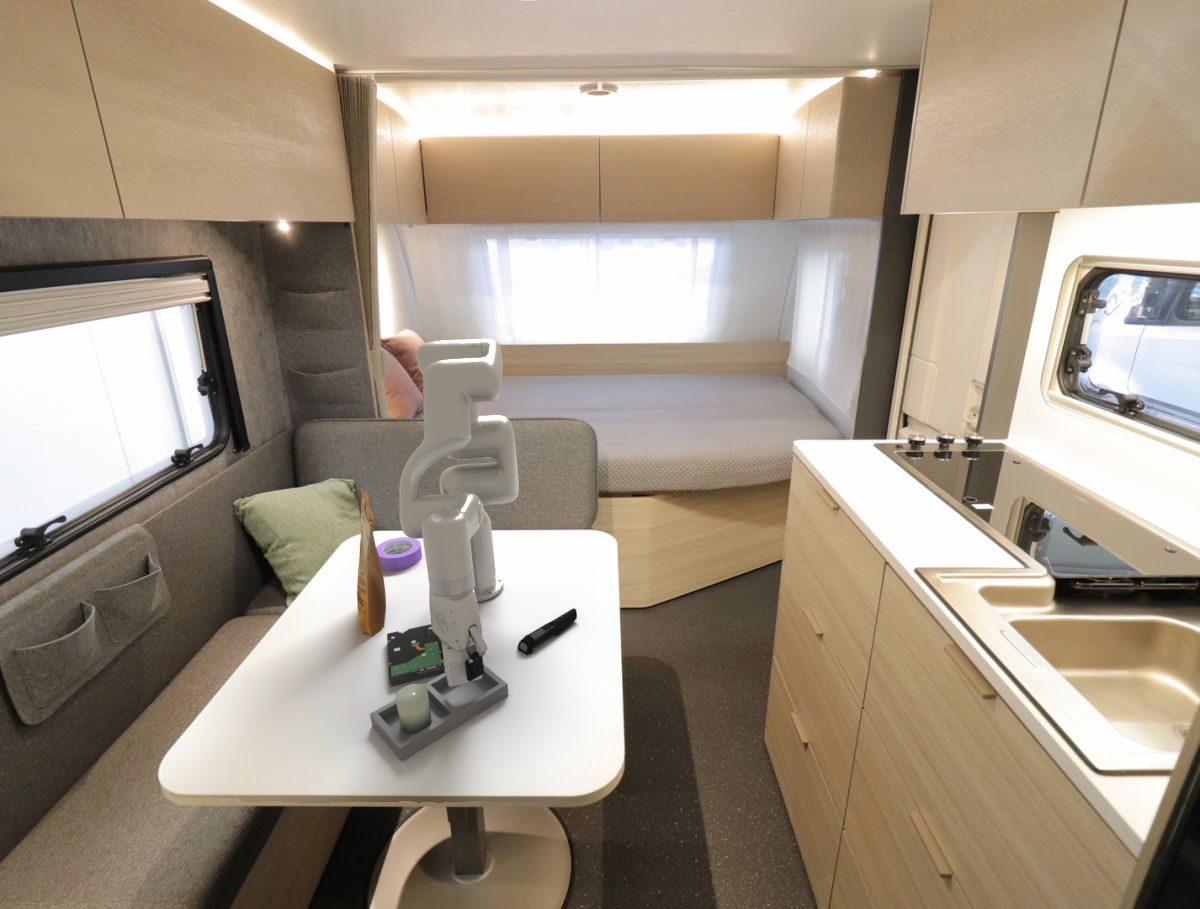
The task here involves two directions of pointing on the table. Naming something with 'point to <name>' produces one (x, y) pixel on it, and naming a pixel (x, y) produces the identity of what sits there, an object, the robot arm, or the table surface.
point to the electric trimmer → (546, 632)
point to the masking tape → (399, 545)
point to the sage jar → (413, 708)
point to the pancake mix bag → (370, 576)
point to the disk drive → (414, 655)
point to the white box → (456, 664)
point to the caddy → (440, 711)
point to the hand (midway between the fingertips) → (462, 665)
